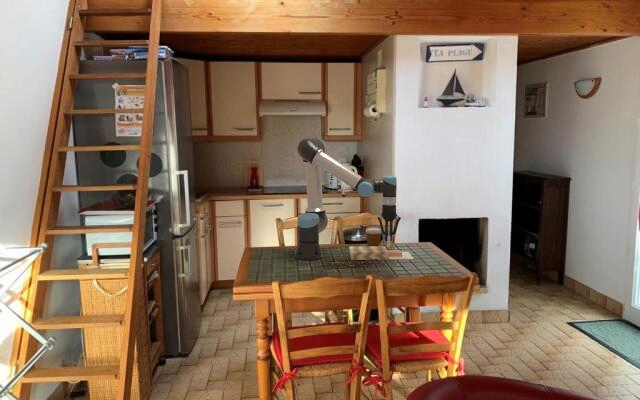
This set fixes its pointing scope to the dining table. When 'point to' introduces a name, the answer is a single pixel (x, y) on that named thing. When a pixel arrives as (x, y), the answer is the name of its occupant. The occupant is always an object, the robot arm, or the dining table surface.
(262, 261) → the dining table surface
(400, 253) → the pink flat piece
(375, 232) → the disposable coffee cup
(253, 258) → the dining table surface
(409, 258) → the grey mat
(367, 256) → the birch board
